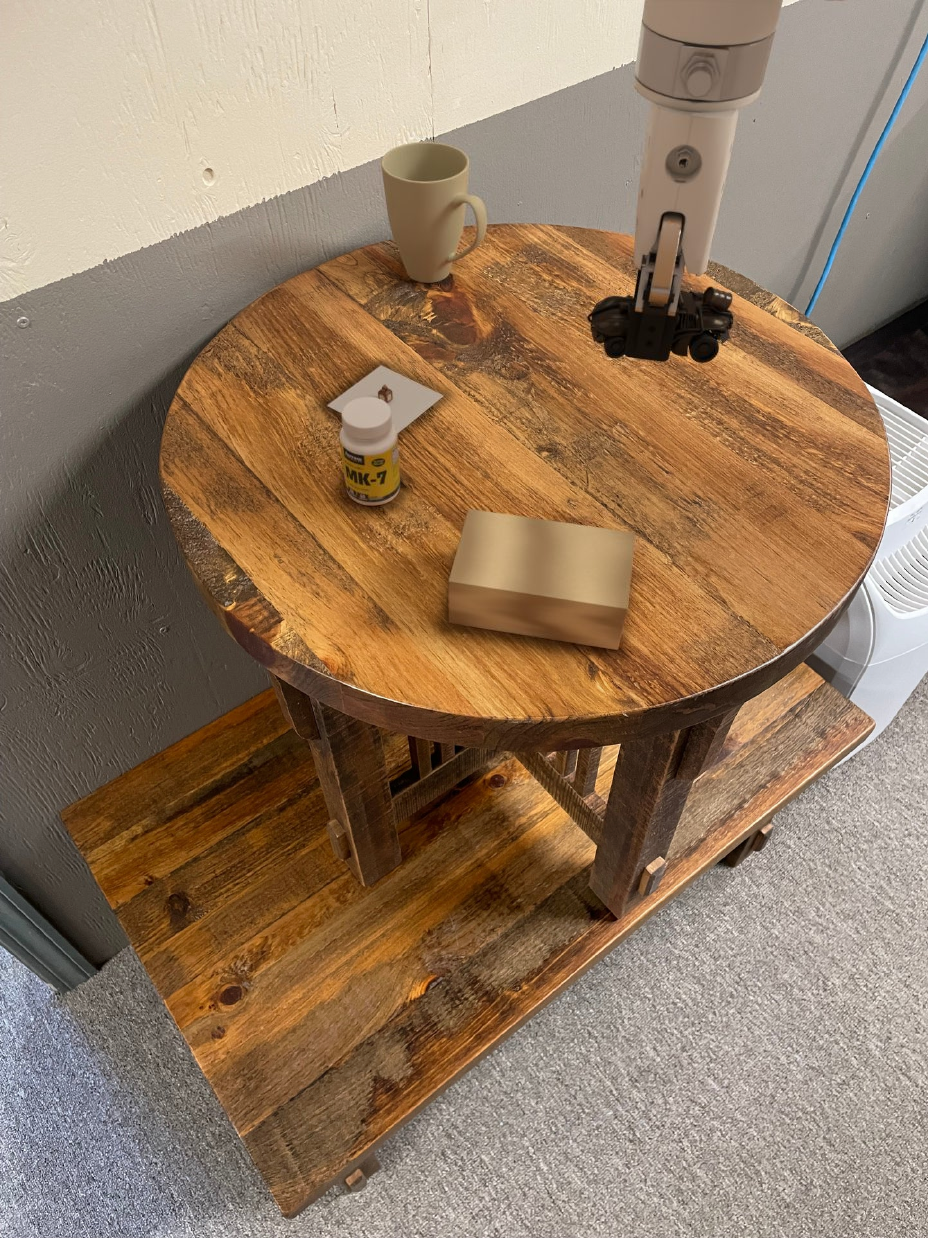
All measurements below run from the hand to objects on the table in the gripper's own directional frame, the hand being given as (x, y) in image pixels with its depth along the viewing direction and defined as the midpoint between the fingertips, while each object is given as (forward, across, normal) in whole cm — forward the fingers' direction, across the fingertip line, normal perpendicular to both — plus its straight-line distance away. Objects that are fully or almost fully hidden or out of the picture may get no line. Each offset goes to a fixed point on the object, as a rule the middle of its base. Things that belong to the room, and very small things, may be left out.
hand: (650, 327), depth 64 cm
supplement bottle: (+15, -6, +21) cm, 27 cm away
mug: (+15, +29, +24) cm, 40 cm away
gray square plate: (+15, +6, +23) cm, 28 cm away
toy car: (+1, 0, 0) cm, 1 cm away
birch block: (+15, -15, +5) cm, 22 cm away
